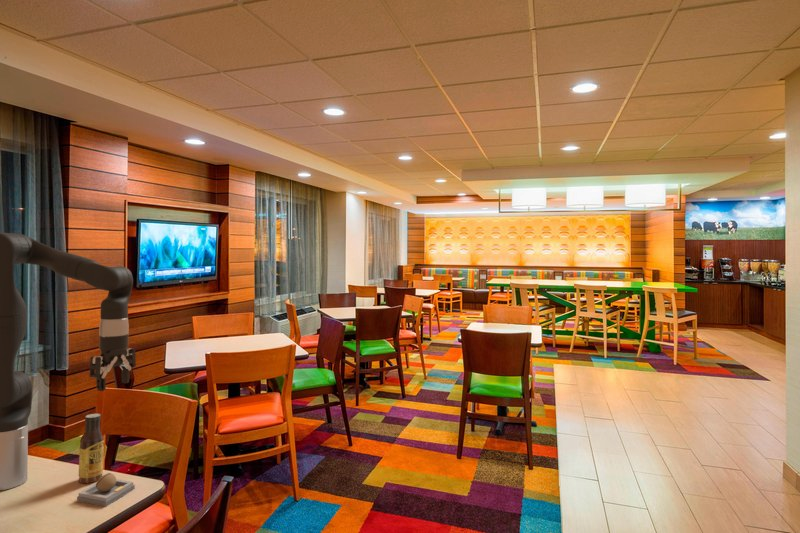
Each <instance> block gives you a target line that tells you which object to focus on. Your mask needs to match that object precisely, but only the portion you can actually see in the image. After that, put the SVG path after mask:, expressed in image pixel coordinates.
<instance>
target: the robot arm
mask: <svg viewBox="0 0 800 533" xmlns="http://www.w3.org/2000/svg"><path fill="white" fill-rule="evenodd" d="M20 264H28V265H34V266H40V267H44V268H48V269H49V270H51V271H53V272H55V273H57V274H58V275H59V276H63V277H65V278H68V279H73V280H76V281H79V282H82V283H86V284H87V285H89V286H92V287H94V288H95V289H98V290H101V291H102V290H103V291H106V292H107V291H108V293H107V296H106V298H104V299H103V300H102V301H101V303H100V321H99V325H98V326H99V328H98V330H99V333H98V334H99V335H98V339H99V341H98V349H99V350H100V355H99V356H91V357H90V360H89V361H90V364H89V377H90V378H94V379H96V387H95V388H96V389H97V391H98V392H105V391H106V389H107V388H106V384H107V383H106V382H107V381H106V376H107V375H108V373H109V372H110V371H111V370H112V369H113V368H116V367H119V368H120V369H121V374H120V376H121V378H120V379H121V383H123V384H128V383H130V379H131V370H132V369H133V368H135V367H136V366H137V362H136V361H137V357H136V349H135V348H132V347H131V348H130V347H129V345H130V344H129V340H130V339H129V338H130V336H129V333H130V327H129V326H130V325H129V302H130V298H131V294H132V291H133V290H132V289H133V286H134V277H133V274H132V271H131V270H130V269H129V268H127V267H126V266H107V265H103V264H100V263H99V262H98V261H96V260H94V259H92V258H88V257H86V256H81V255H78V254H74V253H71V252H67V251H62V250H59V249H56V248H55V247H52V246H49V245H46V244H44V243H42V242H39V241H38V240H36V239H34V238H31V237H29V236H27V235H25V234H21V233H14V232H13V233H12V232H0V491H5V490H10V489H13V488H16V487H19V486H20V485H22V484H24V483H25V482H27V481H28V473H29V472H28V467H29V466H28V464H29V463H28V460H29V453H28V451H29V449H28V448H29V447H28V446H29V439H28V438H29V417H30V415H31V412H32V407H33V406H32V405H33V404H32V403H33V383H32V380H31V378H30V377H29V375H28V374H26V373H25V372H22V371H21V370H20V371H17V370H15V361H16V357H17V354H18V352H19V349H20V347H21V345H22V343H23V341H24V338H25V335H26V332H27V326H28V325H27V323H28V309H27V305H26V302H25V300H24V298H23V297H22V295H21V293H20V291H18V289H17V288H18V287H17V286H16V283H15V280H14V279H15V278H14V266H15V265H20Z"/></svg>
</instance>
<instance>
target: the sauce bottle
mask: <svg viewBox="0 0 800 533" xmlns="http://www.w3.org/2000/svg"><path fill="white" fill-rule="evenodd" d="M101 415H102V414H101V413H91V414H87V415H85V417H84V421H85V428H84V430H85V431H84V433H83V434H82V436H81V437H80V442H79V443H80V444H79V455H78V456H79V458H78V481H79V483H80V484H90V483H95V482H97V481H98V480H99V478H100V477H102V476H103V471H104V450H105V448H104V446H105V439H104V437H103V434H102V431H101V418H102V416H101Z"/></svg>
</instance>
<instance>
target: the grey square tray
mask: <svg viewBox="0 0 800 533" xmlns="http://www.w3.org/2000/svg"><path fill="white" fill-rule="evenodd" d="M135 485H136V484H134V481H131V480H126V479H125V480H124V479H123V480H122V479H118V478H116V484H115V486H114V487H113V488H112V489H111V490H109V491H107V492H101V491H99V490H98V489H97V487H96V483H94V484H92V485H91V486H89V487H87V488H86V489H84V490H82V491H79V492H78V496H76V501H77V502H79V503H85V504H90V505H91V504H92V505H95V506H102V507H108V506H110V505H111V504H113V503H115V501H118V500H119V499H120V498H122V497H124V496H125V495H128V494H129V493H131V492H132V491H134V490H135V489H136V488H135V487H136V486H135ZM133 489H134V490H133Z"/></svg>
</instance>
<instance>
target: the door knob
mask: <svg viewBox="0 0 800 533" xmlns="http://www.w3.org/2000/svg"><path fill="white" fill-rule="evenodd" d="M116 479H117V477H116V476H115V474H114V473H110V472H107V473H104V474H102V477H100V478H99V480H97V481H96V483H95V484H96V487H97V489H98V490H99V491H101V492H107V491H109V490H111V489H112V488H113V487H114V486H115V484H116Z"/></svg>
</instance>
